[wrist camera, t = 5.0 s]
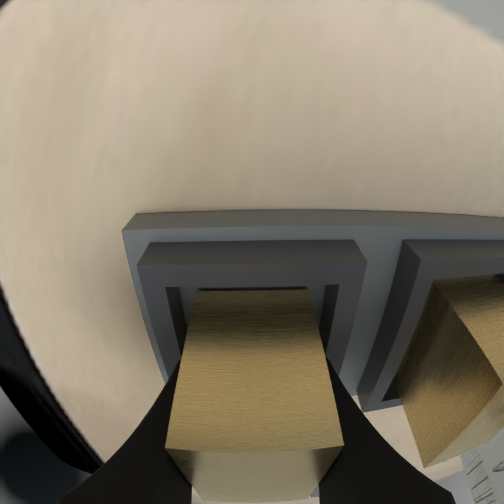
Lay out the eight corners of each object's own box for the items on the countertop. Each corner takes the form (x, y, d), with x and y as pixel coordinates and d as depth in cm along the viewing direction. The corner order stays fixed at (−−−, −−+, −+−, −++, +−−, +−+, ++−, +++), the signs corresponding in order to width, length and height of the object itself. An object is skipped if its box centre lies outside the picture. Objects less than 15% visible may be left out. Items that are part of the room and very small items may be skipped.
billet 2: (488, 268, 11) (562, 354, 5) (447, 358, 14) (488, 441, 8) (425, 272, 11) (502, 384, 5) (388, 369, 14) (424, 468, 8)
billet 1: (308, 289, 11) (343, 445, 5) (294, 386, 14) (307, 499, 8) (196, 290, 11) (164, 447, 5) (212, 387, 14) (203, 500, 8)
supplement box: (513, 403, 23) (545, 474, 12) (494, 428, 26) (519, 492, 15) (471, 427, 24) (500, 507, 13) (455, 449, 27) (477, 518, 16)
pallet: (510, 218, 11) (546, 245, 8) (454, 356, 16) (472, 389, 13) (135, 214, 11) (104, 251, 8) (175, 379, 16) (166, 422, 13)
